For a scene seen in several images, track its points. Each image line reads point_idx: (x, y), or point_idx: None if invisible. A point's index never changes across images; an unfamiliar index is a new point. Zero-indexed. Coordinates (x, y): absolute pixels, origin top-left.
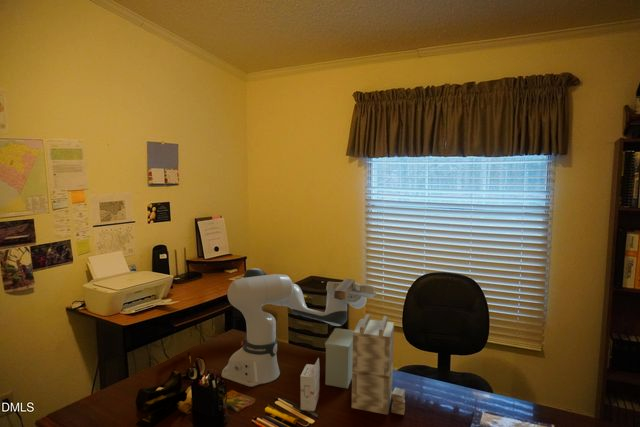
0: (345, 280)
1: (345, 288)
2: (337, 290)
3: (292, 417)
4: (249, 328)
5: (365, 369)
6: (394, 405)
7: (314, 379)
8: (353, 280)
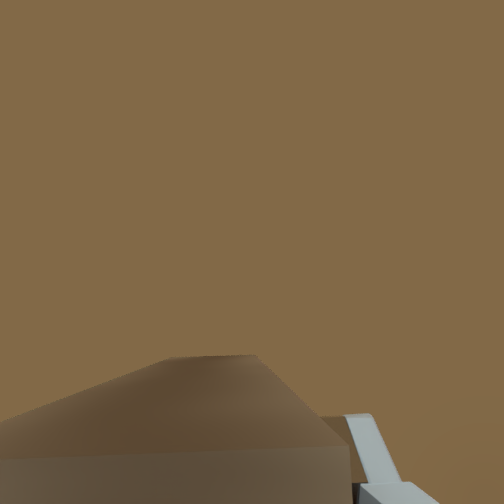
0: (254, 401)
1: (175, 361)
2: (232, 356)
3: None
4: None
5: None
6: None
7: None
8: (13, 420)
